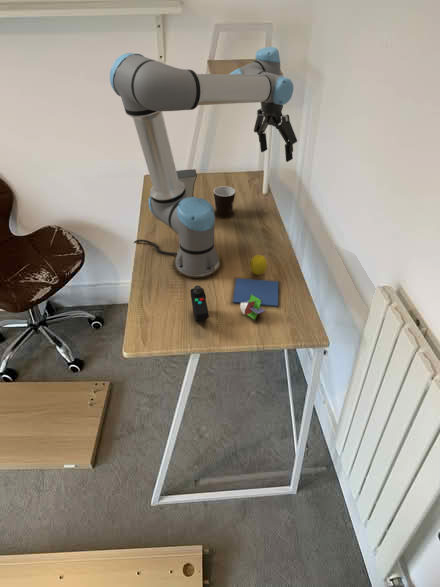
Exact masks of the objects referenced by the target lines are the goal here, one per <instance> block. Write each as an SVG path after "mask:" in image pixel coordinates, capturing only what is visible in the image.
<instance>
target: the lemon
mask: <svg viewBox="0 0 440 587" xmlns="http://www.w3.org/2000/svg"><path fill="white" fill-rule="evenodd" d="M267 267H268V262H267V259H266V257H265V256H263V255H261V254H256V255H254V256H252V258H251V260H250V262H249V268H250V271H251V273H252V274H254V275H256V276H261V275H263V274H265V272H266V270H267V269H268V268H267Z"/></svg>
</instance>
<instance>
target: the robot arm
mask: <svg viewBox="0 0 440 587" xmlns="http://www.w3.org/2000/svg"><path fill="white" fill-rule="evenodd" d="M281 74H282V72H281V58H280V52H279V49H278V48H277V47H274V46H266V47H262V48H260V49H258V50H257V51H256V52H255V60H253V61H252V62H250V63H248V64H246V65H243V66H241V67H238V68H236V69H235V70H233V71H231V72H230V73H197V72H196V71H195V70H193V69H183V68H178V67H176V66H175V67H174V66H172V65H168V64H166V63H164V62H161V61H158V60H155V59H152V58H149V57H146V56H144V55H143V54H141V53H133V52H126V53H123V54H121V55H120V56H118V57H117V58H116V59H115V60H114V62H113V63H112V66H111V68H110V71H109V83H110V85H111V88H112V89H113V91H114V92H115V94H116V95H117V96H119V97H120V98H121V101H122V105H123V108H124V112H125V114H126V115H127V116H129V117H131V118H132V120H133V122H134V126H135V130H136V133H137V136H138V140H139V143H140V148H141V150H142V154H143V157H144V161H145V164H146V167H147V170H148V174H149V177H150V181H151V185H152V186H151V187H150V189H149V190H150V191H149V195H150V197H148V209H149V211H150V212H151V213H152V215H153V216H154V217H155V218H156V219H157V220H158V221H160V222H161V223H163V224H164V225H166V226H167V227H169V228H170V229H171V230H173V231H174V232H175V233H177V235H178V244H179V246H178V250H177V252H175V251H174V252H172V251H171V252H170V251H164V250H161V249H159V248H158V245H157V244H156V243H154V242H152V241H150V240H147V239H142V238H141V239H136V240H134V241H133V244H136V243H141V242H143V243H147V244H149V245H151V246H154V249H155V251H156V252H157V253H160V254H165V255H172V256H175V259H174V266H175V270H176V271H177V273H179V275H181V276H183V277H185V278H188V279H192V280H193V279H196V280H199V279H206V278H209V277H212V276H213V275H215V274H216V273H217V272H218V271H219V269H220V264H221V263H220V262H221V261H220V257H219V255H218V252H217V248H216V247H215V224H216V223H215V222H216V217H215V216H216V215H215V210H214V207H213V205H212V204H211V203H210V202H209V201H208V200H206V199H204V198H202V197H199V198H198V197H197V196H193V197H187V194H186V189H185V185H184V183H183V182H182V181H180V180H178V176H177V172H176V171H177V168H176V163H175V159H174V155H173V150H172V147H171V142H170V139H169V138H170V137H169V135H168V130H167V125H166V121H165V117H164V113H163V112H178V111H192V110H195V109H196V108H198V106H209V105H213V106H214V105H229V104H231V105H233V104H254V103H260V108H259V109H257V111H256V115H257V116H256V119H255V123H254V128H253V132H254V133H256V134H257V136H258V142H259V146H260V148H259V149H260V152H261V153H264V152H266V151H267V150H268V142H267V133H266V130H267V128H268V127H269V126H272V127H275V129H276V130H277V131H278V132H279V134H280V135H281V137H282V139H283V141H284V142H285V144H284V152H285V153H284V154H285V162H286V163H288V162H291V161H292V160H293V159H294V157H293V152H294V144H296V143H297V142H298V138H297V136H296V134H295V131H294V129H293V125H292V123H291V119H290V115H289V114H287V113H286V114H285V115H283V108H284V105H286V104H287V103H289V102H290V100H291V99H292V97H293V93H294V83H293V81H292V80H291V79H290V78H288V77H286V76H284V75H281Z"/></svg>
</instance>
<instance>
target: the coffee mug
mask: <svg viewBox="0 0 440 587" xmlns="http://www.w3.org/2000/svg"><path fill="white" fill-rule="evenodd" d="M213 196H214V197H213V200H214V206H215V214H216V216H217V217H219V218H229V217H231V216H232V215H233V208H234V203H235V197H236V189H235V188H233V187H231V186H228V185H227V186H226V185H222V186H221V185H220V186H217V187H215V188H214V189H213Z"/></svg>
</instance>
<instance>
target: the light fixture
mask: <svg viewBox="0 0 440 587" xmlns="http://www.w3.org/2000/svg"><path fill="white" fill-rule="evenodd" d="M176 172H177V176H178V180H180V181H182V182H183V183H184V185H185V189H186V194H187V197H194V192H195V191H194V190H195V185H196V181H197V177H198V174H197V170H196V169H181V170H176Z"/></svg>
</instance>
